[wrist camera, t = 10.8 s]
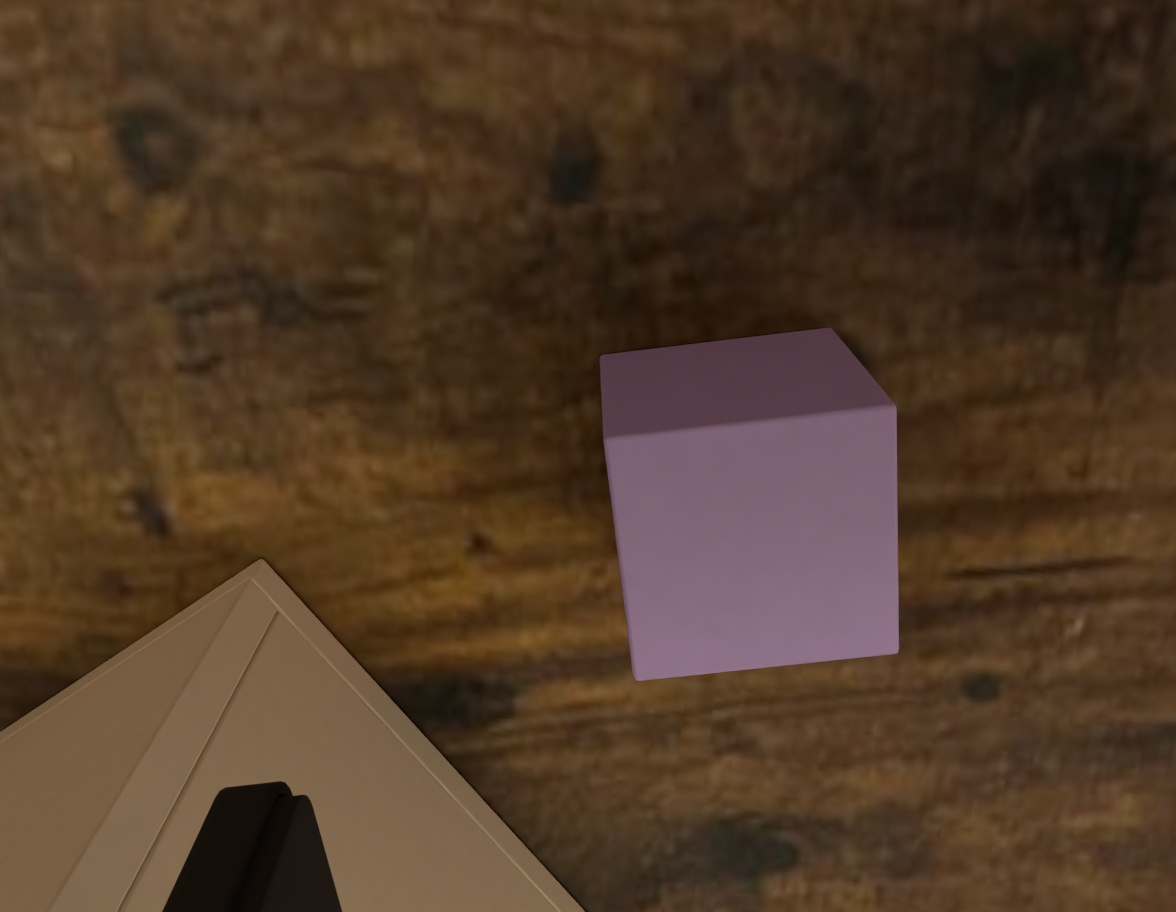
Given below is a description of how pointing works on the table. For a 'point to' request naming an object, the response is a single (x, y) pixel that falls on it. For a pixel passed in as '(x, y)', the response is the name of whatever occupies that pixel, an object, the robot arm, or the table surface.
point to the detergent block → (752, 503)
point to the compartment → (244, 771)
